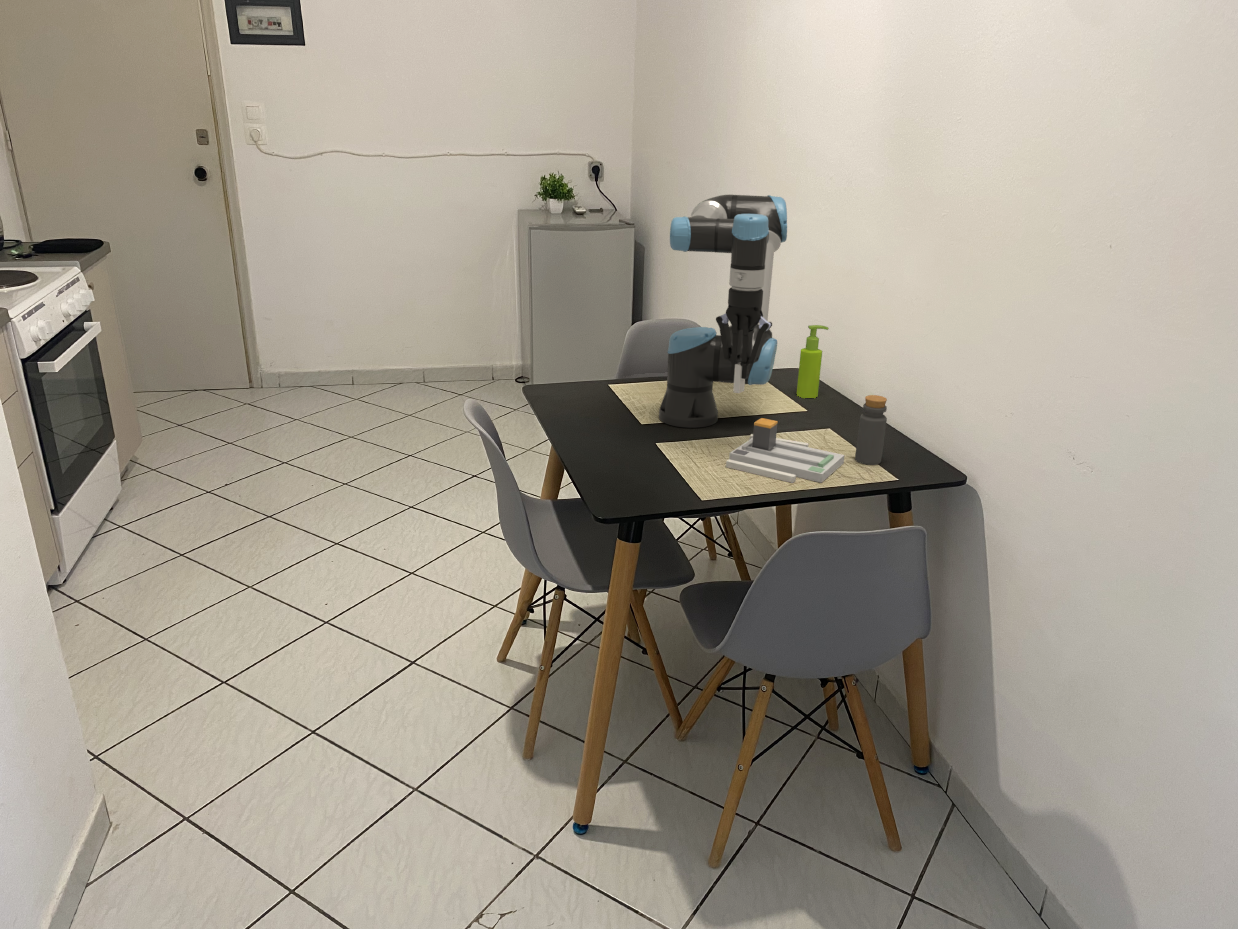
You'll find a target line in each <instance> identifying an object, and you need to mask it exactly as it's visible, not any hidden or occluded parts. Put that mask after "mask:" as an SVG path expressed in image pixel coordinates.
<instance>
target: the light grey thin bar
mask: <svg viewBox="0 0 1238 929" xmlns="http://www.w3.org/2000/svg"><path fill="white" fill-rule="evenodd" d="M751 438H753V433H751V434H749V439H748V440H750V439H751ZM776 440H777V441H782V442H787V443H791V444H796V445H800V446H805V447H809V442H805V441H804V442H803V441H799V440H798V441H796V440H790V439H785V438H779V437H776Z"/></svg>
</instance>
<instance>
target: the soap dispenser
mask: <svg viewBox="0 0 1238 929" xmlns="http://www.w3.org/2000/svg"><path fill="white" fill-rule="evenodd" d="M807 327H808V329H809V331H810V332H809V336H807V337H806V340H805V347H804V348H803V347H802V348H801V349H800V354H799V366H798V375H797V385H796V386H797V387H796V394H797V395H796V396H797V397H798V396H799V397H798V398H800V397H801V398H802V399H805V398H814V399H816V397H817V398H818V395H819V389H820V387H819V386H820V378H821V377H820V376H821V368H822V360H823V359H822V358H823V350H822V349H820V348H819V343H820V342H819V341H820V338H819V337H818V336H817V334H818V333H817V331H818V330H825V331H828V330H830V328H829V327H828V326H825V325H820V324H812V325H809V324H808V326H807ZM801 398H800V399H801Z"/></svg>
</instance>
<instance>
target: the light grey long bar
mask: <svg viewBox="0 0 1238 929" xmlns="http://www.w3.org/2000/svg"><path fill="white" fill-rule="evenodd" d="M725 468H729V469H732V470H733V469H734V470H737V471H742V472H746V473H750V474H753V475H757V476H761V477H767V478H769V479H774V480H780V481H783V482H788V483H791V484H793V483H795V482H796V479H797V477H796V475H794V474H790V473H786V472H781V471H777V470H773V469H768V468H764V467H760V466H756V465H751V464H747V463H743V462H739V461H734V460H730V459H729V458H728V459H727V460H726V461H725Z"/></svg>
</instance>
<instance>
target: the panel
mask: <svg viewBox="0 0 1238 929" xmlns="http://www.w3.org/2000/svg"><path fill="white" fill-rule="evenodd" d="M749 439H750V438H749ZM749 439H748V440H747V441H745V442H744V443H742V444H741V445H739V446H738V447H736V448H735V449H733V450H732V451H730V452H729V455H728V456H729V458H728V460H729V459H730V460H734V461H739V462H743V463H747V464H751V465H756V466H760V467H764V468H768V469H773V470H777V471H781V472H786V473H790V474H794V475H796V478H799V479H805V480H808V481H813V482H816V483H823V482H824V481H825V480H826V479H828V478H829V477H830V476H831V475H832V474H833V473H834V472H836V470H838V469H839V468H840V467H841V466H842V465H844V464H845V454H842V453H841V454H840V453H837V452H832V451H827V450H823V449H818V448H813V447H809V446H808V447H805V446H800V445H796V444H791V443H787V442H782V441H777V440H776V445H775V447H773V448H772V449H770V450H769V451H767V450H763V449H758V448H754V447H752V444H753V438H751V439H750V440H749Z"/></svg>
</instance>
